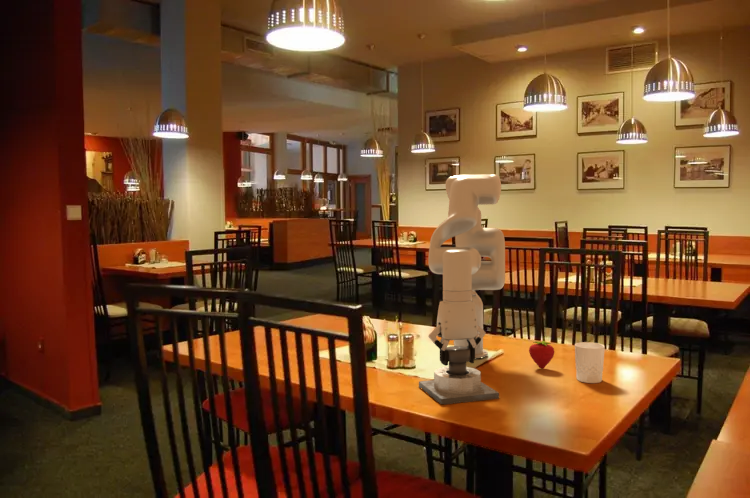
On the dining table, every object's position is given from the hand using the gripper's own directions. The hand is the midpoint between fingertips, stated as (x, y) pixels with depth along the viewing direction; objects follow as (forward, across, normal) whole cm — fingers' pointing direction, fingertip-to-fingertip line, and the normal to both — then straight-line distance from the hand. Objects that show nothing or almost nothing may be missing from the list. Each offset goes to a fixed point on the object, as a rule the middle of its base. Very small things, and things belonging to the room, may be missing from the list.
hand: (457, 362), depth 158 cm
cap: (+3, 0, 0) cm, 3 cm away
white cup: (+8, -40, +1) cm, 41 cm away
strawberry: (+8, -34, -14) cm, 38 cm away
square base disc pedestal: (+8, 0, 0) cm, 8 cm away
